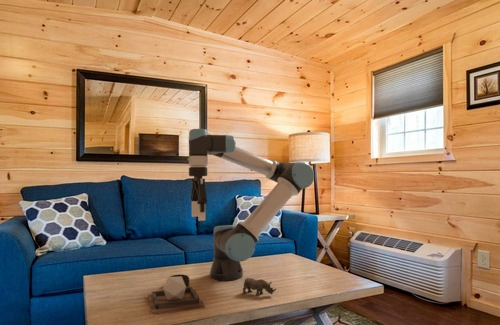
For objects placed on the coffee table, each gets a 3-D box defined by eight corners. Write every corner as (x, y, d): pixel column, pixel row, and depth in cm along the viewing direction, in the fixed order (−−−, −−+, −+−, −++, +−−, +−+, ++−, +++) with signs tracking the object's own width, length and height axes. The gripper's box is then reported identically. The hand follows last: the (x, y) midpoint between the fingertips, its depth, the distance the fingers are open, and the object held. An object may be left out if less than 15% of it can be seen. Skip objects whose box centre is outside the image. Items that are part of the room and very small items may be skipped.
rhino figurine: (274, 298, 132) (274, 282, 132) (241, 294, 137) (241, 278, 138) (277, 295, 136) (277, 279, 136) (245, 290, 141) (245, 275, 141)
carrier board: (147, 297, 134) (147, 290, 134) (194, 291, 140) (194, 285, 140) (151, 315, 117) (151, 307, 117) (204, 307, 123) (204, 300, 123)
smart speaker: (168, 291, 142) (168, 281, 142) (167, 284, 150) (167, 274, 150) (190, 288, 144) (190, 279, 144) (188, 282, 152) (188, 273, 153)
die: (177, 306, 123) (192, 281, 128) (156, 294, 124) (171, 269, 128) (177, 306, 131) (191, 282, 135) (157, 295, 131) (171, 271, 135)
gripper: (183, 167, 155) (183, 215, 154) (195, 166, 131) (195, 223, 131) (200, 167, 157) (200, 214, 157) (214, 166, 134) (214, 221, 133)
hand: (198, 218), depth 144 cm, fingers open, 13 cm apart
